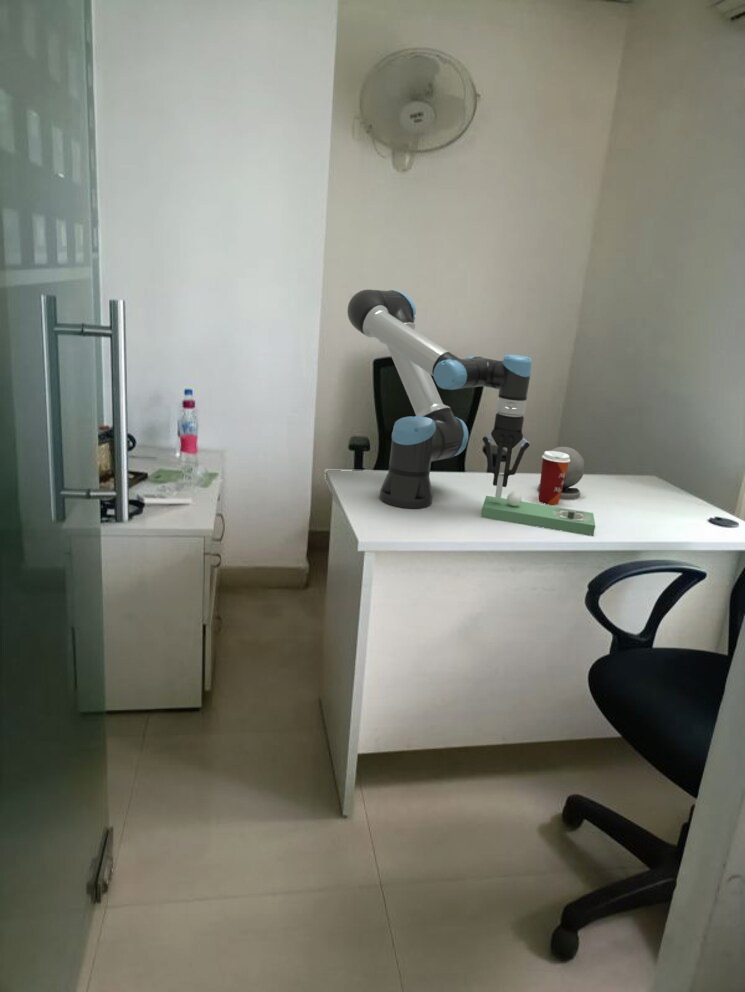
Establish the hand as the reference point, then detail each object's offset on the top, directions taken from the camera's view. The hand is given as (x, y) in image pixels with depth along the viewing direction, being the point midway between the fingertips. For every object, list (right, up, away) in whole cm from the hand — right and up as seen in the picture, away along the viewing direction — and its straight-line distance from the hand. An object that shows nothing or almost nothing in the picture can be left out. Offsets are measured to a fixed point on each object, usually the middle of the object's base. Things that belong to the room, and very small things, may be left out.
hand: (498, 497), depth 197 cm
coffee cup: (+18, -2, +17) cm, 25 cm away
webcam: (+24, +1, +27) cm, 36 cm away
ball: (+4, 0, -1) cm, 4 cm away
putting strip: (+11, -6, 0) cm, 12 cm away
